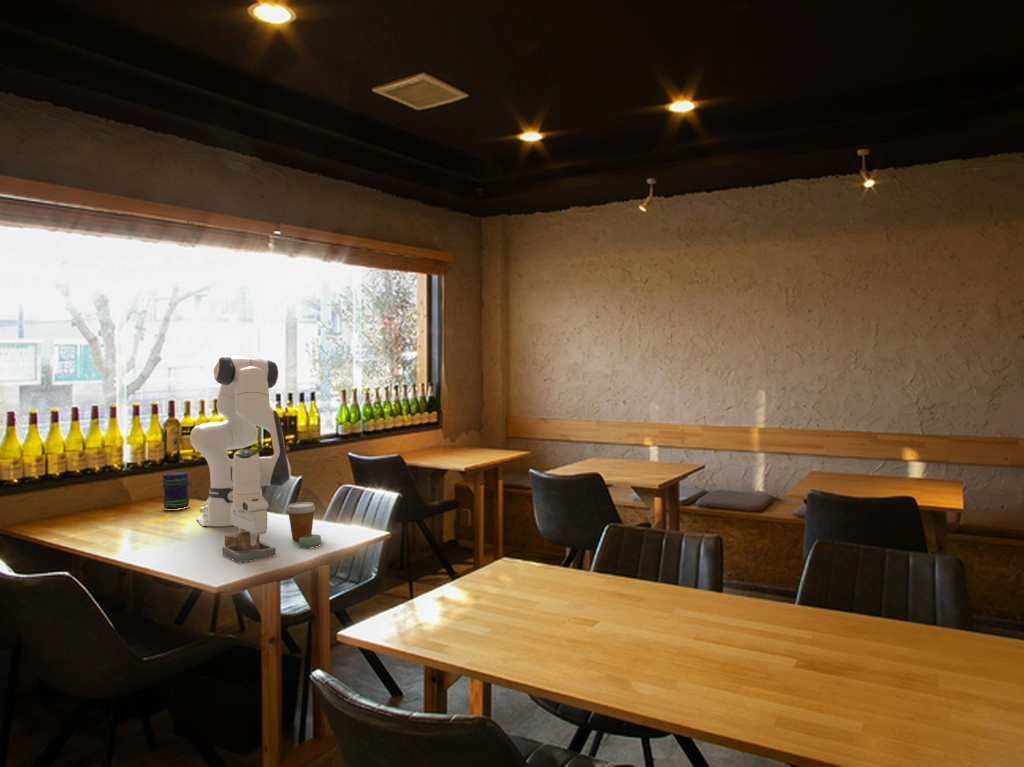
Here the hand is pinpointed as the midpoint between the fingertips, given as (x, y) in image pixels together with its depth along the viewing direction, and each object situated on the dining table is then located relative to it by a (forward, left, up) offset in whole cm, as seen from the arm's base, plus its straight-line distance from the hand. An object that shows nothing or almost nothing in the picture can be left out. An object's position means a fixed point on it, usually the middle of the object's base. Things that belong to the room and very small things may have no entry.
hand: (248, 543), depth 238 cm
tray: (0, 0, -4) cm, 4 cm away
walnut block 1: (-10, 0, -4) cm, 11 cm away
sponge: (+3, +20, -4) cm, 21 cm away
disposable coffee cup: (-7, +22, -4) cm, 23 cm away
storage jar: (-91, +8, -4) cm, 91 cm away
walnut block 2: (0, 0, -2) cm, 2 cm away
